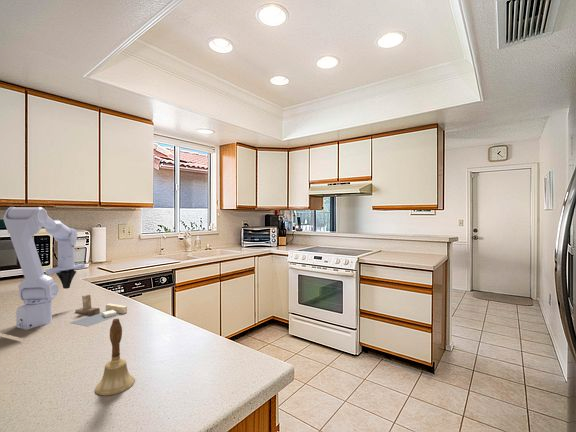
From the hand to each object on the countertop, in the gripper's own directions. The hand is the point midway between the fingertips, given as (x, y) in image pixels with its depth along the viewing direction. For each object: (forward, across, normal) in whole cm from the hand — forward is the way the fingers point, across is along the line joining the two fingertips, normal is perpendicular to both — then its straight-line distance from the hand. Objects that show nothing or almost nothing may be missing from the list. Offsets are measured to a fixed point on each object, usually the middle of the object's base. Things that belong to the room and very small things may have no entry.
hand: (66, 288), depth 125 cm
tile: (+8, 0, +25) cm, 27 cm away
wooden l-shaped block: (+9, +1, +14) cm, 17 cm away
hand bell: (+10, +32, +69) cm, 77 cm away
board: (+9, +3, +24) cm, 26 cm away
